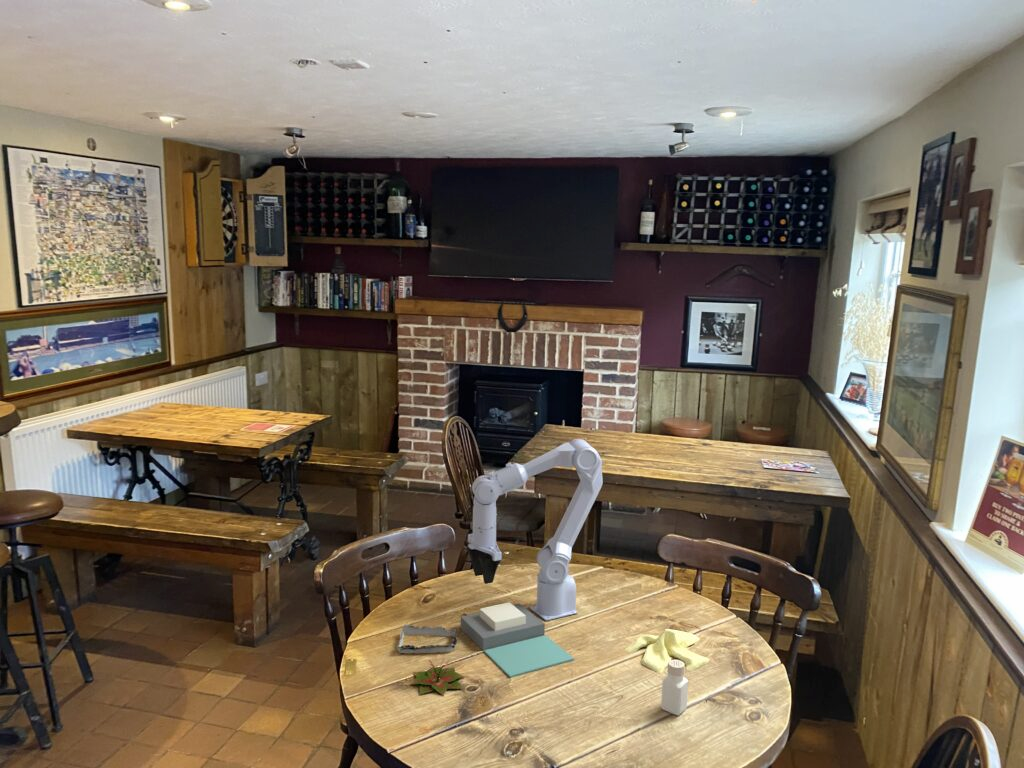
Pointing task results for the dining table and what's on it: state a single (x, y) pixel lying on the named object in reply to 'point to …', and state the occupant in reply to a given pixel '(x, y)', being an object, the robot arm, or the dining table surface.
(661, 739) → the dining table surface
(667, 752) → the dining table surface
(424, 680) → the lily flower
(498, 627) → the coaster
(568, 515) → the robot arm
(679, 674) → the pepper shaker
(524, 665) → the drip mat
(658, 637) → the cloth
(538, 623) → the riser
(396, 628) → the dining table surface
